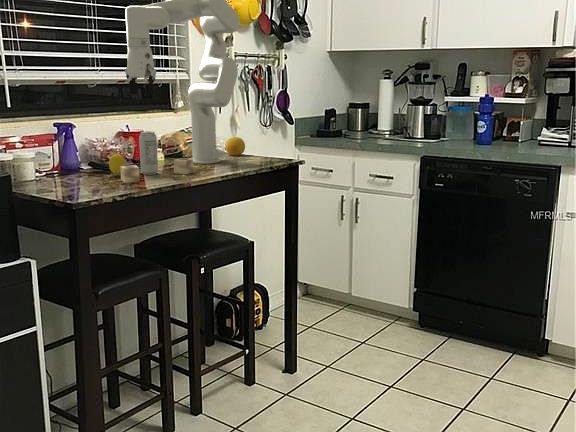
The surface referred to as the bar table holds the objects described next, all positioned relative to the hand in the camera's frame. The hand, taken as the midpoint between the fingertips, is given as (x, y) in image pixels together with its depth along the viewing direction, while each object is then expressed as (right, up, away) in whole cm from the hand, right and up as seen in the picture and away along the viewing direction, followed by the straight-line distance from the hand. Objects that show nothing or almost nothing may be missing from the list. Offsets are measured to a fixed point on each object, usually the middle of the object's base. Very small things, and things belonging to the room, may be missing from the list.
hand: (141, 94), depth 218 cm
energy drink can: (+1, -27, +7) cm, 28 cm away
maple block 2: (+13, -27, +10) cm, 31 cm away
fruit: (+28, -16, +53) cm, 62 cm away
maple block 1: (-2, -31, -7) cm, 31 cm away
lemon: (-9, -28, +3) cm, 30 cm away
